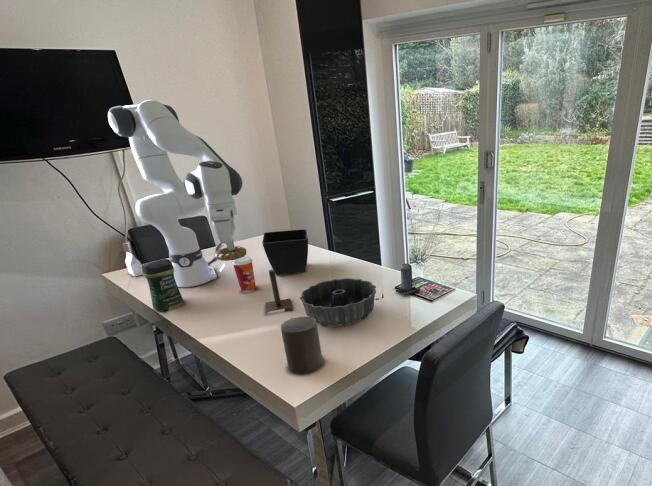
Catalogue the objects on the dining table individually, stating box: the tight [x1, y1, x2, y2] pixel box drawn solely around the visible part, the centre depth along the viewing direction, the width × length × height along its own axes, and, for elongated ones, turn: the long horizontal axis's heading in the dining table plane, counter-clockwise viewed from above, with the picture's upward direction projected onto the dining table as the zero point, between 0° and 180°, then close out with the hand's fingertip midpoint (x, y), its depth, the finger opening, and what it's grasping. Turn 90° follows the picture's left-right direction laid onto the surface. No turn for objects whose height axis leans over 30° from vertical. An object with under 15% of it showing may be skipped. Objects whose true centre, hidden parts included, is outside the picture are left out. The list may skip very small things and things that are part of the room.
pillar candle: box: [280, 315, 324, 375], centre depth 117 cm, size 10×10×15 cm
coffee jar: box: [141, 257, 184, 312], centre depth 154 cm, size 10×8×19 cm
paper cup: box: [231, 255, 256, 292], centre depth 168 cm, size 8×8×14 cm
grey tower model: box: [395, 263, 421, 297], centre depth 164 cm, size 9×8×12 cm
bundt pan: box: [299, 277, 377, 328], centre depth 146 cm, size 26×26×10 cm
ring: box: [214, 245, 247, 262], centre depth 144 cm, size 10×10×2 cm
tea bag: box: [124, 251, 143, 277], centre depth 188 cm, size 4×7×10 cm, turn 54°
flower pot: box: [261, 228, 309, 276], centre depth 189 cm, size 19×19×17 cm
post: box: [265, 269, 293, 313], centre depth 152 cm, size 9×9×15 cm
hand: (231, 248), depth 147 cm, fingers closed on ring, 2 cm apart
